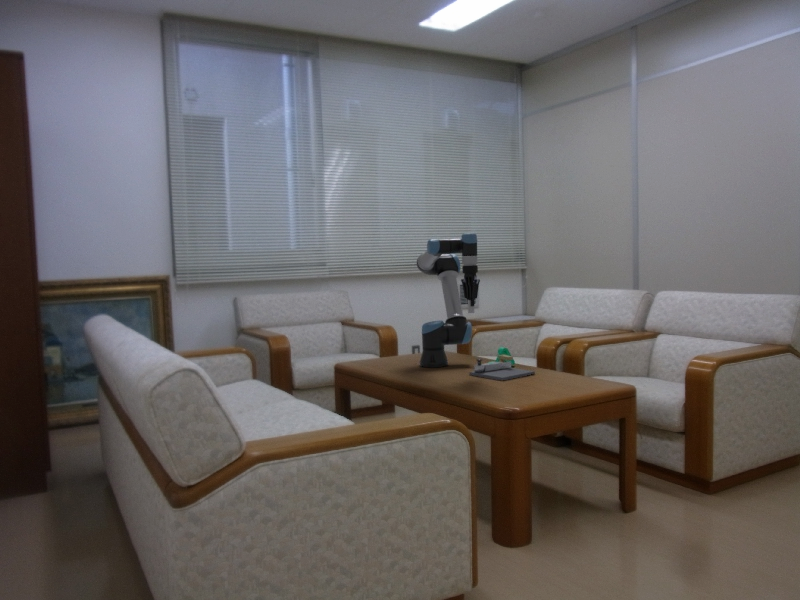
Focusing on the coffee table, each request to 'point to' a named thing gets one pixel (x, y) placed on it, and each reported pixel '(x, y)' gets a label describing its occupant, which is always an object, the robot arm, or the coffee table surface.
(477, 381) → the coffee table surface
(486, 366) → the link
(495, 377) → the plate
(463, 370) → the coffee table surface
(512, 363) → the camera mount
